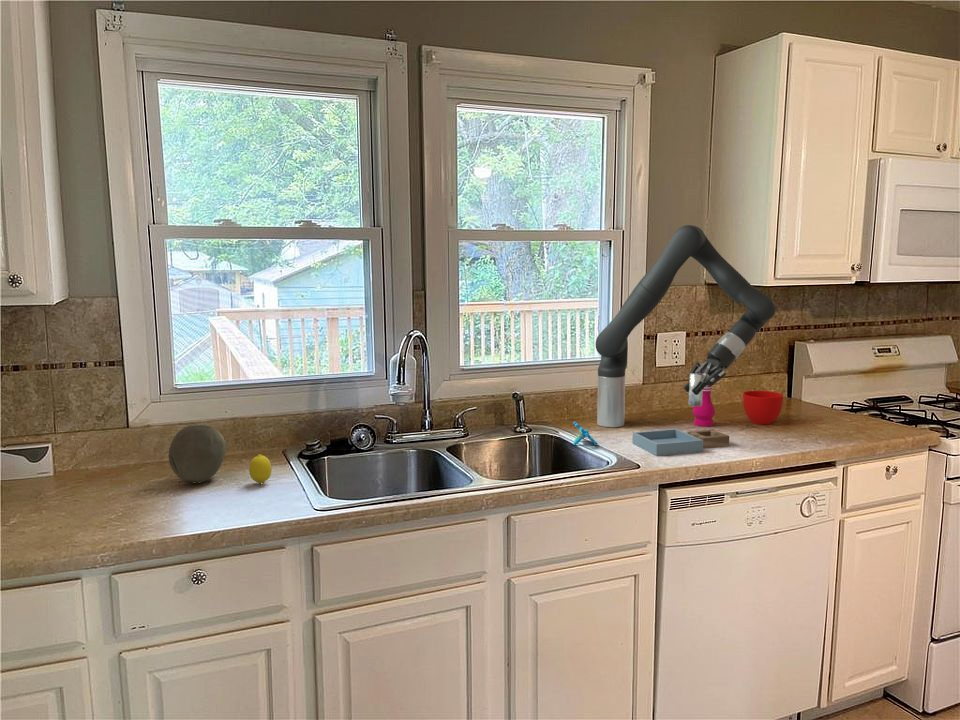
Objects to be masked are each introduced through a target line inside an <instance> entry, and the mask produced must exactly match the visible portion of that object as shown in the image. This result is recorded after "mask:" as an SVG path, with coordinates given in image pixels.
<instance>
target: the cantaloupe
mask: <svg viewBox="0 0 960 720" xmlns="http://www.w3.org/2000/svg"><path fill="white" fill-rule="evenodd" d="M226 444H227V443H226V440H225V438H224V436H223V435H222V434H221V433H220V431H218V429H216V428H215V427H214V426H210V425H205V424H195V425H187V426H185V427H184V428H182V429H180V430H179V431H178V432H177V433H175V435H174V437H173V439H172V440H171V443H170V445H169V449H168V464H169V465H170V468H171V470H172V472H173V473H174V475H176V476H177V477H178V478H179V480H182V481H183V482H189V483H192V482H195V483H194V484H200V483H199V482H202V483H204V482H206V481H208V480H209V479H211V478H213V476H215V475H216V474H217V473H218V471H219V470H220V468H221V466H222V464H223V462H224V458H225V455H226V450H227V449H226V448H227V447H226V446H227V445H226Z"/></svg>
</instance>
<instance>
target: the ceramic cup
mask: <svg viewBox="0 0 960 720" xmlns="http://www.w3.org/2000/svg"><path fill="white" fill-rule="evenodd" d="M783 403H784V395H783V394H782V393H781V392H776V391H769V390H748V391H743V393H742V405H743V409H744V413H745V415H746V416H747V418H748V419H749V421H751V423H753V424H756V425H763V424H764V425H766V426H767V425H771V424H772V423H774V421H775V420H776V419H777V418H778V417H779V415H780V413H781V411H782V409H783ZM764 425H763V426H764Z"/></svg>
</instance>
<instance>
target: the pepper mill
mask: <svg viewBox="0 0 960 720" xmlns="http://www.w3.org/2000/svg"><path fill="white" fill-rule="evenodd" d="M700 374H702V373H701V372H700ZM711 382H712V381H711ZM712 391H713V385H712V386H709V385H708V386H707V387H704V388H703V395H702V406H693V409H692V415H693V416H694V417H695V418H694V419H693V424H694V425H695V426H696V427H703V428H704V427H705V428H706V427H713V425H714V420H713V419H712V418H713V417H714V416H715V414H716V410H715V406H714V404H713V402H712V398H711V397H712V396H711V394H712Z"/></svg>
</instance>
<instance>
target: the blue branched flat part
mask: <svg viewBox="0 0 960 720" xmlns="http://www.w3.org/2000/svg"><path fill="white" fill-rule="evenodd" d="M573 425H574V426H575V427H576V428H577V429H579V433H578V436H577V437H575V438H574V440H573V441H574V442H573V445H574V446H575V447H576V446H577V445H578V444H579V443H580V442H581V441H582V440H584V439H585V438H588V439H589V441H590V442H592V444H594V445H595V446H598V444H599V443H598V442H597V441H596V440H595V439H594V438H593V437H592V436H591V435H590V432H589V430H588V429H584V428H583V427H582V426H581V425H580V424H578V422H577V421H574V422H573Z"/></svg>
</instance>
